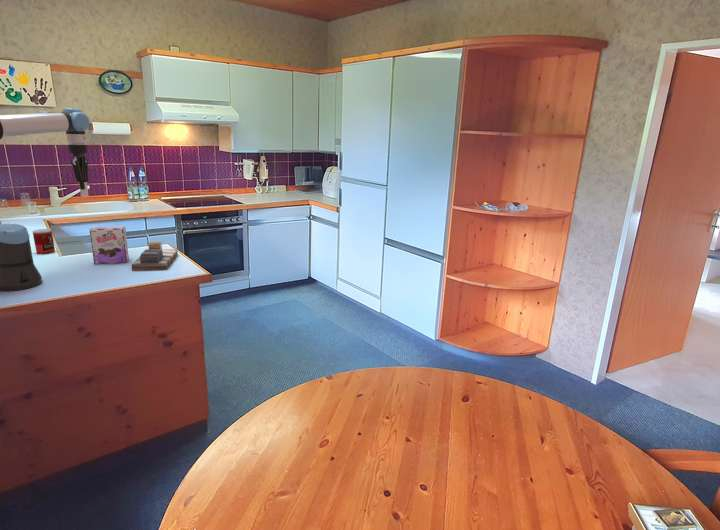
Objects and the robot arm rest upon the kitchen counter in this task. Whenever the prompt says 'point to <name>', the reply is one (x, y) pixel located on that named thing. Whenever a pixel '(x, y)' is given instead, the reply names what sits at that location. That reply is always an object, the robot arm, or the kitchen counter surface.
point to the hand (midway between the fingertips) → (84, 196)
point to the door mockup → (154, 260)
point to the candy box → (109, 245)
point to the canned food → (43, 241)
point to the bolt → (155, 245)
